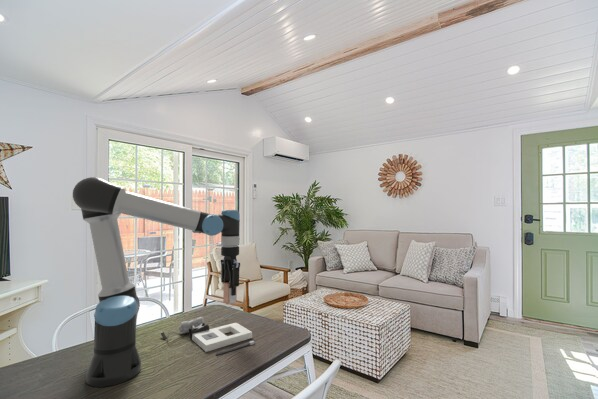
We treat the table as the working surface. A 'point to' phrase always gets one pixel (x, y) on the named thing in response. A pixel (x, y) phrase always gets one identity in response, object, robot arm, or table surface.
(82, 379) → the table surface
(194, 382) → the table surface
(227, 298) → the block
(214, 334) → the outlet plate
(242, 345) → the cable
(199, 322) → the clip-on lamp
